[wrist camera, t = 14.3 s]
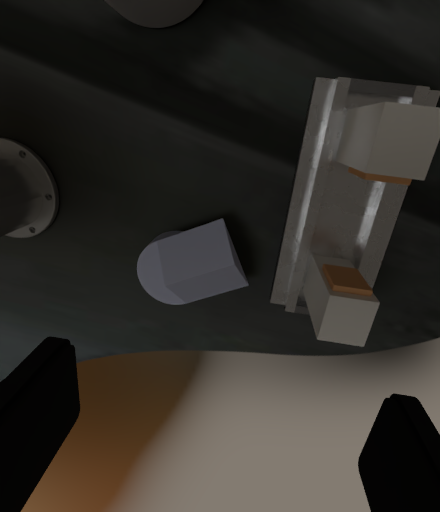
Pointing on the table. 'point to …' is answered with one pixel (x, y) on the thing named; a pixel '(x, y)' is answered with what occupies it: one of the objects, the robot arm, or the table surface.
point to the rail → (337, 191)
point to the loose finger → (389, 141)
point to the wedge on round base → (190, 264)
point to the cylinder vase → (155, 11)
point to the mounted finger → (339, 301)
